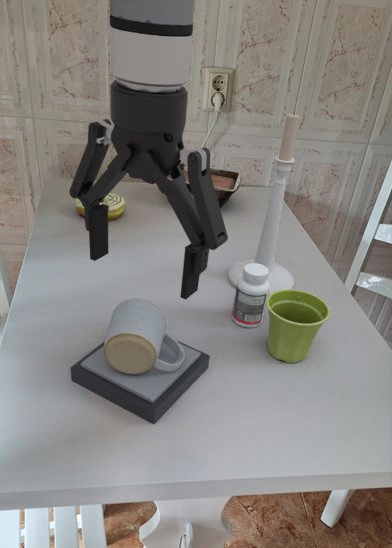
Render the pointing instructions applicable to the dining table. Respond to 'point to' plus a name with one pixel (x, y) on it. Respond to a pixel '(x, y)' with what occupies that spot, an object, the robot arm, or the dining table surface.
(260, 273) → the pill bottle
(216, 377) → the dining table surface
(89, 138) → the robot arm
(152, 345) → the ceramic mug
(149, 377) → the scale
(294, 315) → the plant pot
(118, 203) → the decorated donut
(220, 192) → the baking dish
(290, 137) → the candlestick
